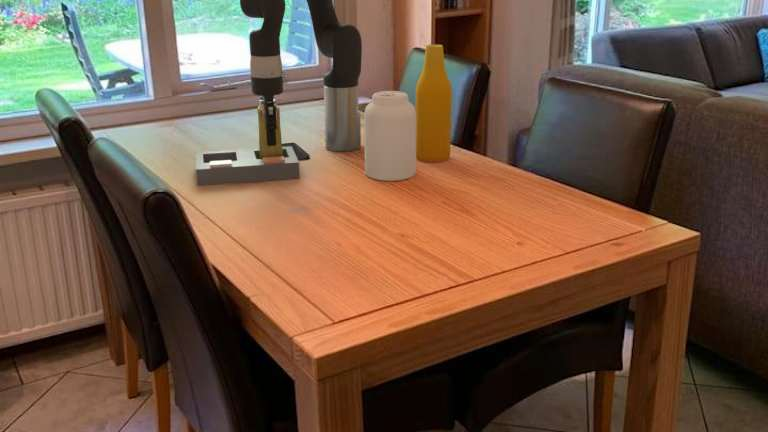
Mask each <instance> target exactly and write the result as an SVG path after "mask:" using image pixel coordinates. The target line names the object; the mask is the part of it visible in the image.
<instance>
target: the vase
mask: <svg viewBox="0 0 768 432" xmlns="http://www.w3.org/2000/svg"><path fill="white" fill-rule="evenodd" d="M280 110H281V109H280V106H278V105H277V121H276V123H277V130H276V145H275V146H268V145H267V137H266V130H265V128H266V127H265V122H264V121H263V116H262V109H261V108H260V105H259V106H258V107H257V118H258V120H257V121H258V140H259V141H258V145H259V146H258V147H259V150H260V159H263V158H265V157H280V156H283V150H282V144H283V142H282V131H281V129H282V128H281V115H280V114H281V113H280ZM264 111H265V109H264ZM265 117H266V114H265ZM268 125H273V121H269V122H268Z"/></svg>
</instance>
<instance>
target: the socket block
mask: <svg viewBox="0 0 768 432" xmlns="http://www.w3.org/2000/svg"><path fill="white" fill-rule="evenodd" d="M282 150H283V156H280V157H265V158H263V159H260V150H259V148H243V149H232V150H231V149H230V150H229V149H228V150H227V149H226V150H215V151H200V152H199V151H198V152H195V170H196V171H195V172H196V182H197V186H199V187H200V186H201V187H202V186H212V185H216V186H217V185H227V184H229V185H230V184H240V183H242V184H243V183H255V182H267V181H268V182H270V181H280V180H281V181H283V180H294V179H296V180H297V179H301V177H300V175H301V174H300V162H299V161H300V160H298V159H297V157H296V155H295V153H294V150H293V148H292V146H288V147H282Z"/></svg>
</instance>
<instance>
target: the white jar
mask: <svg viewBox="0 0 768 432" xmlns="http://www.w3.org/2000/svg"><path fill="white" fill-rule="evenodd" d="M363 120H364V121H363V122H364V123H363V125H364V126H363V128H364V129H363V130H364V131H363V132H364V138H363V139H364V173H365V175H366V176H367V177H368V178H371V179H373V180H378V181H385V182H390V181H391V182H392V181H393V182H394V181H395V182H396V181H403V180H406V179H407V180H408V179H411V178H412V177H414V176H415V175H416V171H417V164H416V163H417V158H416V106H415V105H414V104H412V102H411V101H409V95H408V94H407V93H406V92H404V91H400V90H399V91H398V90H382V91H377V92H375V93H373V94H372V96H371V101H370V102H369V103H368V104H367V105H366V106H365V110H364V113H363Z"/></svg>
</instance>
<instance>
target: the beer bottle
mask: <svg viewBox="0 0 768 432" xmlns="http://www.w3.org/2000/svg"><path fill="white" fill-rule="evenodd" d="M444 57H445V55H444V46H443V44H426V46H425V51H424V62H423V67H422V72H421V74H420V76H419V78H418V81H417V83H416V88H415V110H416V160H418V161H420V162H423V163H431V164H433V163H434V164H435V163H444V162H447V161H448V160H449V159H450V156H451V134H452V133H451V130H452V129H451V128H452V127H451V126H452V97H453V96H452V95H453V92H452V91H453V90H452V85H451V81H450V79H449V76H448V74H447V72H446V66H445V58H444Z"/></svg>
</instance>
